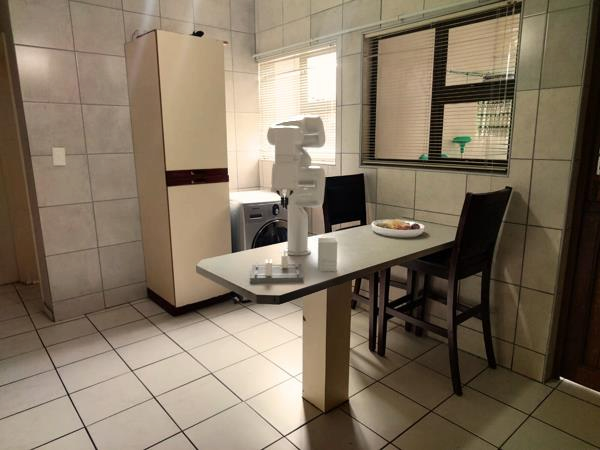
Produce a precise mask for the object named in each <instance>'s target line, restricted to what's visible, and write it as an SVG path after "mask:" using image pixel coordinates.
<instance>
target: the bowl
mask: <svg viewBox="0 0 600 450" xmlns="http://www.w3.org/2000/svg"><path fill="white" fill-rule="evenodd" d="M371 228H372V230H373V232H374V233H377V234H378V235H380V236H385V237H388V238H389V237H391V238H415V237H418V236H420V235H422V234H423V233H424V231H425V225H424V224H422V223H420V222H416V221H410V220H403V219H397V218H396V219H380V220H374V221H372V222H371Z"/></svg>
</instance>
